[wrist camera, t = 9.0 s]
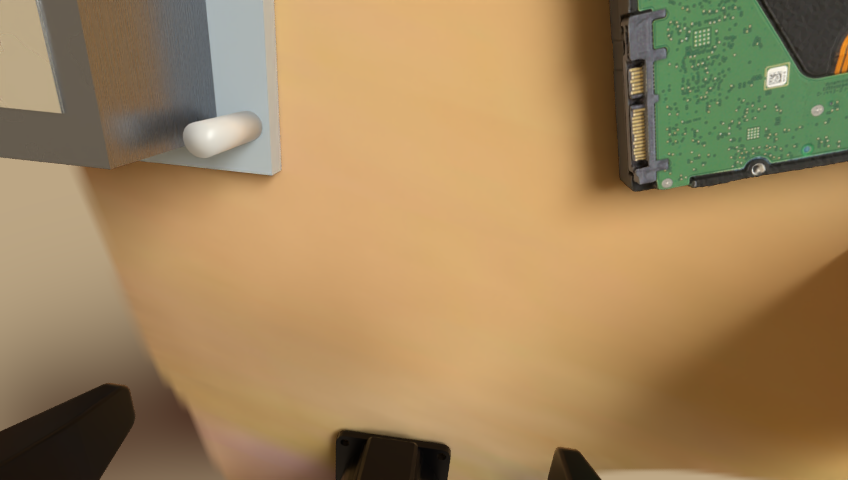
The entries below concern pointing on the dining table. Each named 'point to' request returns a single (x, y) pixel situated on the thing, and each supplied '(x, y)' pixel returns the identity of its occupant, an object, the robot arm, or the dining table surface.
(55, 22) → the block
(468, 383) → the dining table surface
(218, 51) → the tray
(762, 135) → the disk drive
